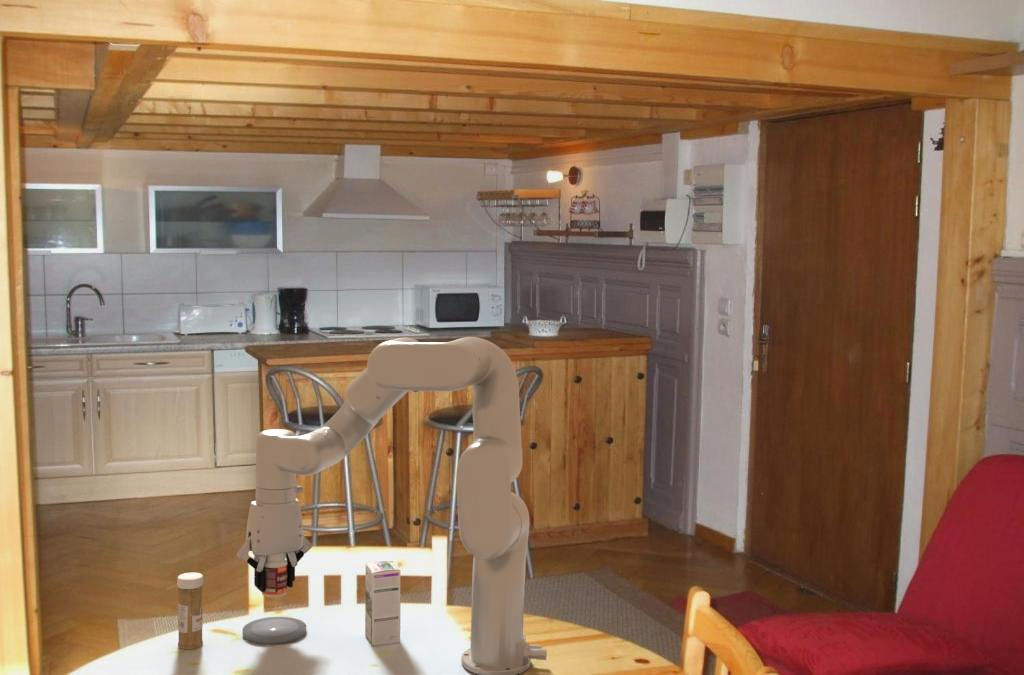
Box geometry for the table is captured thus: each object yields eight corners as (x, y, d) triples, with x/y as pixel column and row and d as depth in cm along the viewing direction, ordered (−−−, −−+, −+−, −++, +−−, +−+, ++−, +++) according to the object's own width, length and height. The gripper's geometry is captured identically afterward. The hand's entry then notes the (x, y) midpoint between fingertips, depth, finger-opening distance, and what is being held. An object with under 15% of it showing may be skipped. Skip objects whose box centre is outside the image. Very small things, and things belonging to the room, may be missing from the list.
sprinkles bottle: (204, 648, 191) (205, 577, 189) (179, 652, 189) (179, 580, 187) (200, 639, 195) (200, 570, 194) (175, 643, 193) (175, 573, 192)
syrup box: (401, 643, 196) (402, 568, 195) (370, 646, 194) (371, 571, 192) (393, 632, 201) (394, 559, 200) (363, 635, 199) (364, 562, 198)
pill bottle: (280, 599, 196) (281, 556, 195) (257, 596, 197) (258, 553, 196) (291, 590, 200) (291, 548, 199) (268, 588, 201) (268, 546, 200)
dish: (314, 624, 204) (314, 618, 204) (294, 647, 192) (294, 641, 192) (256, 619, 206) (256, 614, 206) (232, 642, 194) (232, 636, 194)
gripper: (310, 485, 204) (308, 575, 206) (225, 494, 195) (224, 588, 197) (325, 494, 198) (323, 586, 200) (238, 504, 189) (237, 600, 191)
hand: (274, 586), depth 198 cm, fingers closed on pill bottle, 4 cm apart
